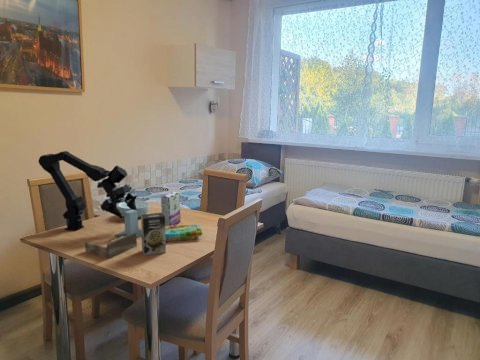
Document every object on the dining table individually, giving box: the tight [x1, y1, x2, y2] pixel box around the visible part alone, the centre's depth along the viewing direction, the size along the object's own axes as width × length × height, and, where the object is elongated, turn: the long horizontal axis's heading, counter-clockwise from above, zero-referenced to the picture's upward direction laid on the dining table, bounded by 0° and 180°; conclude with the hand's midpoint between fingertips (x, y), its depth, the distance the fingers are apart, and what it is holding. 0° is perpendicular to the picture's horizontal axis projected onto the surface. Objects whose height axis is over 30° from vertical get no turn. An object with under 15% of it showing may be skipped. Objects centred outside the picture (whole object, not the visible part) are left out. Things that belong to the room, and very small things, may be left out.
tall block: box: [123, 210, 139, 235], centre depth 169 cm, size 4×5×11 cm
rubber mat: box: [114, 229, 142, 239], centre depth 170 cm, size 11×11×1 cm
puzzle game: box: [165, 224, 203, 242], centre depth 167 cm, size 12×5×20 cm
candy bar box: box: [160, 191, 181, 226], centre depth 183 cm, size 11×5×16 cm, turn 162°
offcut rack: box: [84, 233, 138, 259], centre depth 152 cm, size 14×15×6 cm
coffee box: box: [140, 212, 167, 256], centre depth 149 cm, size 9×6×16 cm
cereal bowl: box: [117, 200, 150, 219], centre depth 197 cm, size 17×17×7 cm
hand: (129, 215), depth 168 cm, fingers open, 9 cm apart
